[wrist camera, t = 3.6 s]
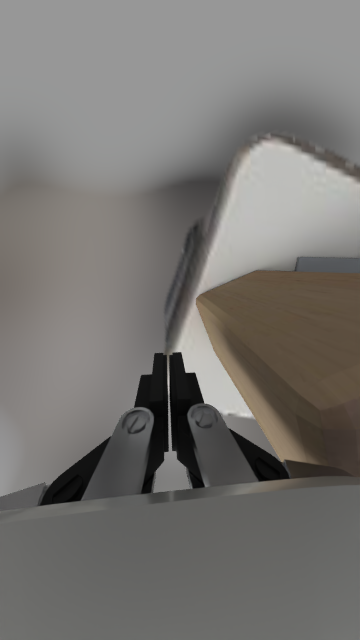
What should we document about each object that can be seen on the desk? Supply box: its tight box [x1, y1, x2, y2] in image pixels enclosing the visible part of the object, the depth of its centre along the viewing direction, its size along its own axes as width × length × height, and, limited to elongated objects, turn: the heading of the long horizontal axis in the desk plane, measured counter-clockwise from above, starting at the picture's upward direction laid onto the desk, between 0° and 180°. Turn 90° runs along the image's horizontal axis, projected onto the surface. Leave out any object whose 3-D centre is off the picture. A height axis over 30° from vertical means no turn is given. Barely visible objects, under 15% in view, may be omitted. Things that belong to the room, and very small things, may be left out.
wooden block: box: [196, 271, 360, 477], centre depth 15 cm, size 10×10×20 cm
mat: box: [295, 257, 360, 273], centre depth 26 cm, size 14×16×1 cm
